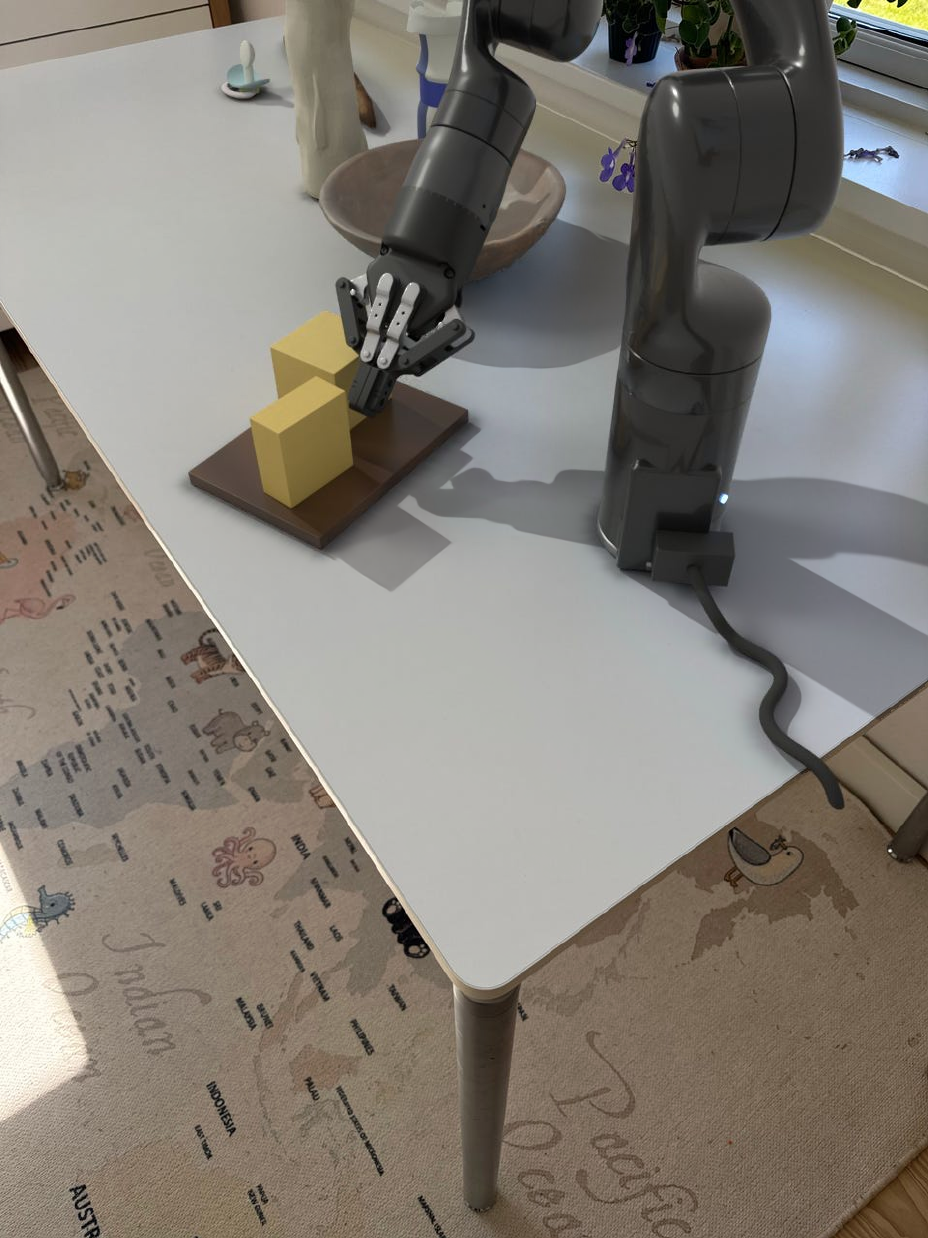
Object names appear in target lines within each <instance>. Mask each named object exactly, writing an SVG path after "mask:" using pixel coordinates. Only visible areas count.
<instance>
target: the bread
mask: <svg viewBox="0 0 928 1238" xmlns="http://www.w3.org/2000/svg"><path fill="white" fill-rule="evenodd" d="M282 36H283V37H282V39H283V40H282V41H283V45H284V46H285V39H284V35H282ZM354 80H355V87H356V94H357V102H358V110H359V118H360V122H361V124H362V123H363V124H364V125H366V126H367V127H369V128H370V129H376V128H377V120H376V119H377V118H376V114H375V108H374V103H373V100H372V98H371V97H370V95H369V93H368V91H367V90H366V88H365V87H364V85H363V83H362V81H361V80H360V77H359V76H358V75H357V73H356V72H355V71H354Z"/></svg>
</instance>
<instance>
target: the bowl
mask: <svg viewBox="0 0 928 1238" xmlns="http://www.w3.org/2000/svg"><path fill="white" fill-rule="evenodd" d="M424 139H425V138H423V139H418V138H415V139H407V140H401V141H397V142H391V143H387V144H384V145H383V144H382V145H379V146H376V147H372V148H369V150H366V151H364V152H362V153H359V154H357V155H356V156H354V157H352V158H350V159H348V160H347V161H345V162H344V163H342V164H341V165H340V166H338V167H337V168H336V169H335V170H334V171H333V172H332V173H331V174H330V175H329V176H328V178H327V179H326V181H325V183H324V184H323V186H322V188H321V190H320V194H319V199H318V203H319V207H320V209H321V211H322V213H323V216H324V217H325V219H326V220H327V222H328V223H329V224H330V225H331V226H332V228H333V229H334V230H335V231H336V232H337V233H338V234H339V235H340V236H341V237H342V238H344V239H345V240H346V241H347V242H348V243H350V244H351V245H352V246H354V247H355V248H357V249H358V250H359V251H361V252H362V253H364V254H365V255H367V256H368V257H370V258H372V259H373V260H374V259H375V258H376V257H377V256H378V254H379V253H380V250H381V241H382V235H383V232H384V230H385V227H386V225H387V222H388V220H389V217H390V215H391V212H392V210H393V207H394V205H395V203H396V200H397V198H398V195H399V193H400V190H401V188H402V186H403V183H404V181H405V178H406V176H407V173H408V171H409V168H410V166H411V163H412V161H413V159H414V157H415V154H416V153H417V151H418V149H419V147H420V145H421V144H422V142H423V140H424ZM566 196H567V185H566V182H565V180H564V177H563V175H562V174H561V172H560V171H559V169H558V168H557V167H556V166H555V165H554V164H552V163H551V162H550V161H548V160H547V159H545V158H543V157H542V156H540V155H537V154H535V153H533V152H531V151H528V150H525V149H523V148H522V147H521V148H520V150H519V153H518V155H517V158H516V160H515V162H514V165H513V167H512V169H511V172H510V175H509V178H508V182H507V185H506V189H505V193H504V196H503V199H502V202H501V204H500V207H499V209H498V212H497V216H496V218H495V220H494V222H493V223H492V226H491V228H490V231H489V233H488V235H487V238H486V240H485V242H484V245H483V247H482V249H481V252H480V254H479V257H478V259H477V261H476V264H475V266H474V269H473V271H472V273H471V276H470V278H469V279H468V280H467V281H466V282H465V284H466V283H470V282H473V281H479V280H482V279H484V278H487V277H489V276H492V275H494V274H496V273H498V272H501V273H502V272H503V271H504V270H505V269H508V268H510V267H511V266H513V265H514V264H515V263H516V262H517V261H518V260H519V259H520V258H522V256H524V255H525V254H526V253H527V252H528V251H529V250H530V249H531V248H533V247H534V246H535V245H536V244H537V243H538V242H539V241H540V240H541V239H542V238H543V236H544V235H545V234H547V232H548V230H549V229H550V227H551V226H552V224H553V223H554V222H555V220H556V218H557V217H558V215H559V213H560V212H561V210H562V208H563V205H564V203H565V200H566Z"/></svg>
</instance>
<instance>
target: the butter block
mask: <svg viewBox="0 0 928 1238" xmlns="http://www.w3.org/2000/svg"><path fill="white" fill-rule="evenodd" d="M269 351H270V358H271V362H272V368H273V369H272V370H273V375H274V380H275V387H276V393H277V400H278V399H280V398H282V397H283V396H285V395H287V394H288V393H290V392H291V391H293V390H295V389H296V388H298V387H299V386H301V385H303V384H304V383H306V382H307V381H309V380H311V379H312V378H314V377H315V376H317V377H319V378H321V379H323V380H325V381H327V382H329V383H331V384H333V385H335V386H336V387H338V388H340V389H342V390H344V391H345V392H346V402H347V411H348V420H349V430H351V429H352V428H353V427H355V426H356V425H357V424H358V423H360V422H361V421H362V420H364V419H365V418H366V417H367V416H365V415H362V414H360V413H358V412H356V411H354V410H352V409H350V408H349V401H350V400H348V392H349V389H350V387H351V384H352V382H353V380H354V377H355V375H356V372H357V370H358V367H359V365H360V357H359V355H358V354H357V353H356V352H355V351H354V350H353V349H352V348H351V347H349V346H348V345H347V344H346V340H345V335H344V329H343V324H342V319H341V315H337V314H335V313H332V312H329V311H327V310H323V311H321V312H319V314H317V315H315V316H314V317H313V318H311V319H309V320H308V321H306V322H305V323H303V324H302V325H301V326H299V327H297V328H296V329H294V330H293V331H291V332H289V333H288V334H287V335H285V336H284V337H282V338H281V339H279V340H277V341H276V342H274V343H273V344H272V345H270V346H269ZM390 398H392V392H391V394H390V397H389V399H390ZM389 399H388V400H389Z"/></svg>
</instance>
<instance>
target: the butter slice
mask: <svg viewBox="0 0 928 1238" xmlns="http://www.w3.org/2000/svg"><path fill="white" fill-rule="evenodd" d="M249 423H250V427H251V429H252V434H253V439H254V444H255V449H256V454H257V460H258V465H259V470H260V475H261V480H262V485H263V490H264V492H265V493H266V494H268V495H270V496H271V497H273V498H275V499H276V500H278V501H280V502H281V503H283V504H285V505H286V506H288V507H290V508H293V507H294V506H296V505H297V504H299V503H300V502H301V501H303V500H304V499H306V498H307V497H309V496H310V495H311V494H313V493H314V492H316V491H317V490H319V489H320V488H321V487H323V486H324V485H326V484H327V483H328V482H330V481H331V480H333V479H334V478H336V477H337V476H338V475H340V474H341V473H343V472H344V471H345V470H347V469H348V468H350V467H351V466H353V458H352V448H351V439H350V430H349V420H348V411H347V402H346V392H345V391H344V390H342V389H340V388H338V387H336V386H335V385H333V384H331V383H329V382H327V381H325V380H323V379H321V378H319V377H317V376H315V377H314V378H312V379H311V380H309V381H307V382H306V383H304V384H303V385H301V386H299V387H298V388H296V389H295V390H293V391H291V392H290V393H288V394H287V395H285V396H283V397H282V398H280V399H278V398H277V400H275V401H273V402H271V404H269V405H267V406H266V407H264V408H262V409H261V410H258V411H257V412H256V413H254V414H252V415H251V416H250V417H249Z"/></svg>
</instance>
